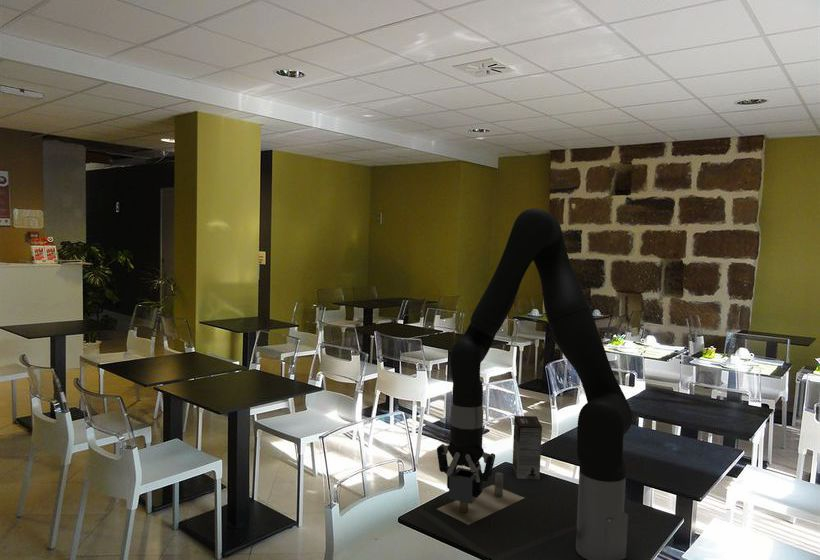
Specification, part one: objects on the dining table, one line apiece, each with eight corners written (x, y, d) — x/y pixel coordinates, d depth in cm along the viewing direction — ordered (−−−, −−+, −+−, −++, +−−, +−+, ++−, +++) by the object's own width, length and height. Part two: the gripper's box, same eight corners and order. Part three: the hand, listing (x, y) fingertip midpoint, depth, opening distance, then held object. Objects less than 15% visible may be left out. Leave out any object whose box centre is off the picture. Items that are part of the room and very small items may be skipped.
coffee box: (511, 470, 167) (513, 415, 166) (534, 471, 167) (536, 415, 166) (516, 484, 158) (518, 425, 157) (540, 485, 158) (543, 426, 157)
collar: (479, 494, 140) (480, 471, 139) (471, 503, 135) (472, 480, 134) (457, 489, 142) (458, 467, 142) (448, 498, 137) (449, 475, 137)
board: (492, 490, 154) (493, 460, 153) (524, 503, 147) (525, 472, 146) (436, 515, 140) (437, 482, 139) (468, 531, 132) (469, 496, 132)
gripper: (501, 423, 137) (498, 493, 139) (444, 413, 143) (442, 481, 145) (491, 432, 130) (488, 506, 132) (431, 422, 137) (429, 493, 138)
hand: (464, 492), depth 138 cm, fingers closed on collar, 5 cm apart
